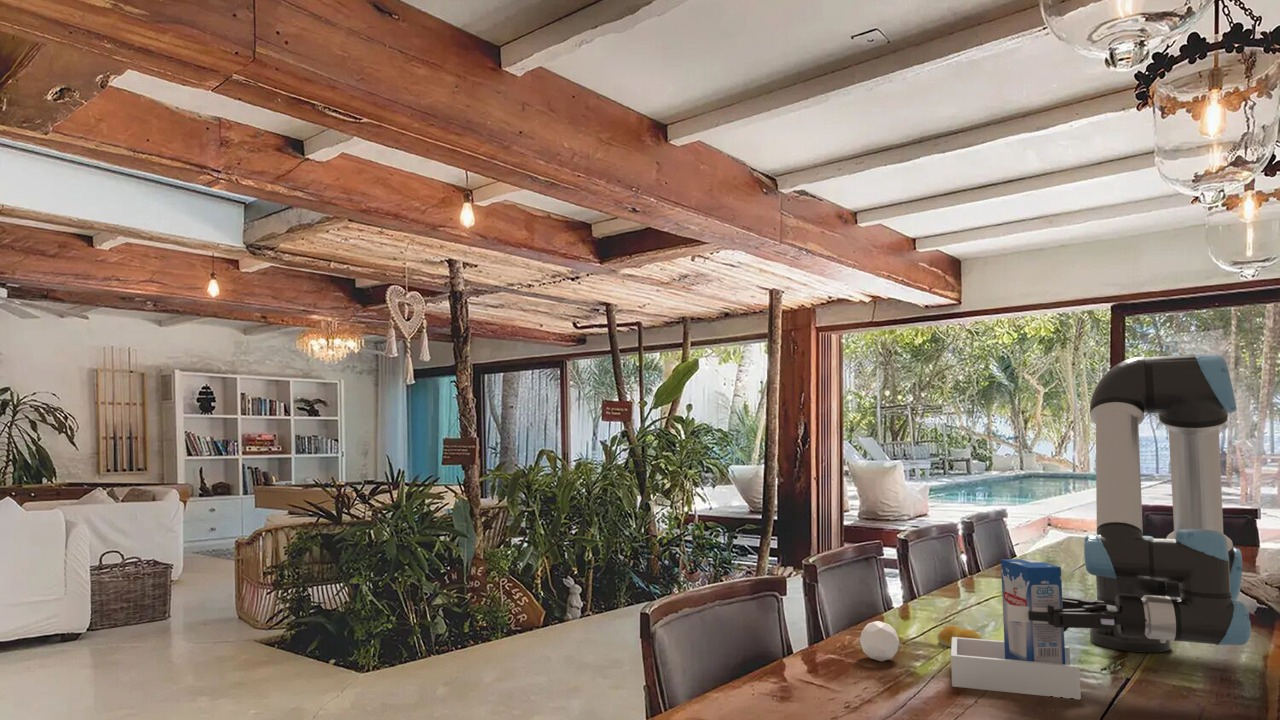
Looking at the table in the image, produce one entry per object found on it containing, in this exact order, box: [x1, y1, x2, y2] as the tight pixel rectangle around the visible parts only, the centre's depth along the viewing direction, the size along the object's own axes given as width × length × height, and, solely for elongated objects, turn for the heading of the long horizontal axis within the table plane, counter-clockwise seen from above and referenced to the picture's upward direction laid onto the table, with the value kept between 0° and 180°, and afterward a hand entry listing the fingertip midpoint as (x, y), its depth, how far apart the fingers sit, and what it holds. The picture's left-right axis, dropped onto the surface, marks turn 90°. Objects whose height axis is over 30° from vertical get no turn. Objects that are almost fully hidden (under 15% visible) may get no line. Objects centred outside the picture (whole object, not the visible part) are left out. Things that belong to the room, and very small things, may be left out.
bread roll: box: [936, 625, 983, 648], centre depth 181 cm, size 8×9×4 cm
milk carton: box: [1000, 558, 1066, 664], centre depth 154 cm, size 10×6×20 cm, turn 4°
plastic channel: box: [950, 637, 1082, 700], centre depth 154 cm, size 21×15×6 cm
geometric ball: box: [859, 620, 900, 662], centre depth 169 cm, size 8×8×8 cm
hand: (1006, 607), depth 155 cm, fingers closed on milk carton, 10 cm apart
